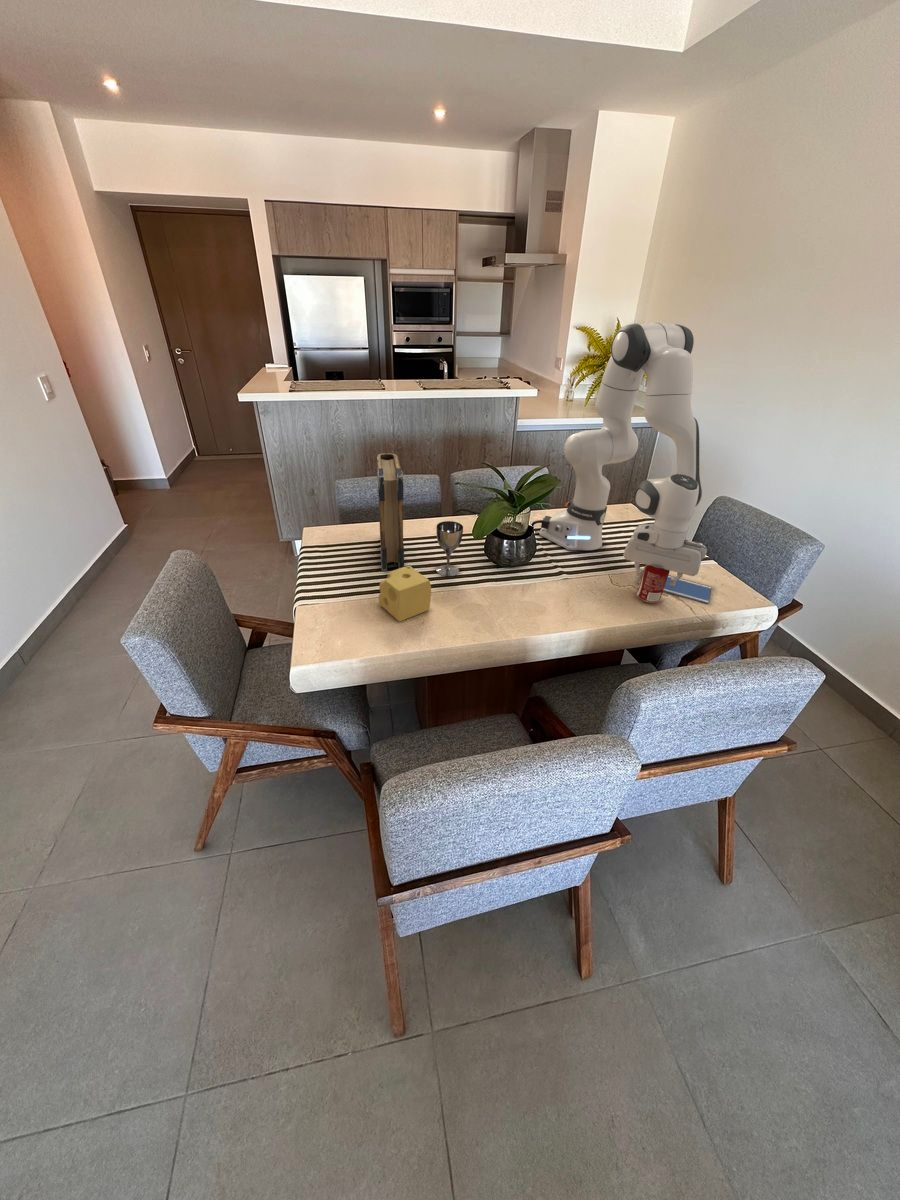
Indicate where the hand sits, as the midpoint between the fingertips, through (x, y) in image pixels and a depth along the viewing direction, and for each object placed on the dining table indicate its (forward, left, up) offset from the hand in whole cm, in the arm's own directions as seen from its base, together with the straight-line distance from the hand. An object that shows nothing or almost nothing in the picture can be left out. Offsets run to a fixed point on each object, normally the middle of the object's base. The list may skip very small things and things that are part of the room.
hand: (655, 579), depth 143 cm
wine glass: (-52, -31, -7) cm, 61 cm away
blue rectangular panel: (+3, +13, -7) cm, 15 cm away
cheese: (-46, -55, -7) cm, 72 cm away
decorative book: (-73, -36, -7) cm, 82 cm away
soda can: (0, 0, -7) cm, 7 cm away
